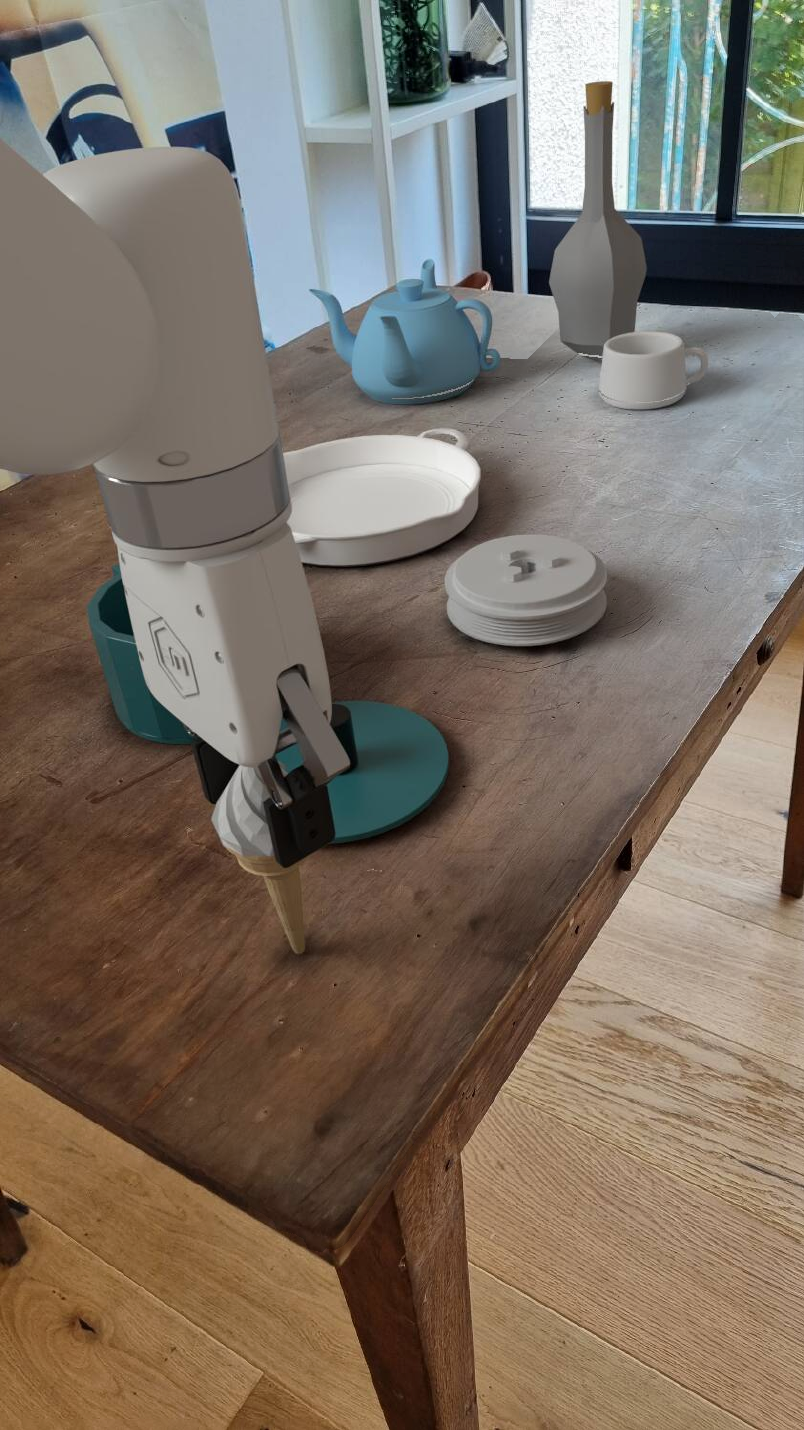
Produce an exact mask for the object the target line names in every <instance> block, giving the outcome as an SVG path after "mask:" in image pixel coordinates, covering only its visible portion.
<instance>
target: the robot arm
mask: <svg viewBox="0 0 804 1430" xmlns="http://www.w3.org/2000/svg"><path fill="white" fill-rule="evenodd" d="M241 203H242V202H241V199H240V194H239V190H238V187H237V184H236V182H235V179H234V177H233V176H232V174H231V172H230V170H229V169H228V167H227V166H226V165H225V164H224V163H223V161H222V160H221V159H220V158H218V157H216V156H215V155H213V154H212V153H211V152H209V151H206V150H201V149H197V148H194V147H186V146H153V147H139V148H131V149H130V148H129V149H123V150H116V151H110V152H109V151H108V152H103V153H98V154H95V155H90V156H86V157H82V158H79V159H75V160H72V161H67V162H65V163H62V164H59V165H57V166H55V167H52V168H50V169H49V170H48V171H46V172H44V173H41V172H40V171H39V170H38V169H36V167H34V165H32V164H31V163H30V162H29V161H27V159H25V158H24V157H23V156H21V155H20V154H19V153H18V152H17V151H16V150H14V149H13V147H11V146H10V145H9V144H7V142H5V141H4V140H3V139H2V138H1V137H0V470H4V471H7V472H11V473H16V474H21V475H36V476H37V475H38V476H39V475H40V476H41V475H42V476H43V475H44V476H52V475H59V474H63V473H64V474H65V473H71V472H75V471H78V470H80V469H83V468H86V467H88V466H91V465H92V466H93V469H94V472H95V478H96V481H97V483H98V488H99V490H100V494H101V495H100V496H101V499H102V502H103V505H104V510H105V513H106V517H107V520H108V523H109V527H110V530H111V535H112V538H113V541H114V543H115V545H116V546H117V556H118V564H119V563H120V569H121V576H122V581H123V586H124V591H125V596H126V601H127V605H128V610H129V615H130V619H131V624H132V628H133V632H134V637H135V641H136V646H137V650H138V654H139V658H140V663H141V667H142V671H143V675H144V678H145V681H146V684H147V686H148V688H149V690H150V691H151V693H152V694H153V696H154V697H155V698H156V699H157V700H158V701H159V702H160V703H161V704H162V705H163V706H164V707H165V708H166V709H168V710H169V711H170V712H171V713H172V714H173V715H175V716H176V717H177V718H178V719H179V720H180V721H182V722H183V725H184V727H185V729H186V731H187V732H188V733H189V734H190V736H192V737H195V736H197V735H199V737H198V738H196V739H194V740H192V741H191V744H190V745H191V748H192V753H193V756H194V760H195V764H196V768H197V772H198V775H199V781H200V783H201V788H202V791H203V794H204V798H205V799H206V801H208V802H209V803H210V804H211V805H216V804H217V801H218V800H219V798H220V797H221V795H222V793H223V792H224V790H225V789H226V787H227V785H228V784H229V782H230V780H231V778H232V777H233V775H234V773H235V772H236V770H237V768H238V767H239V765H241V766H244V767H249V768H254V767H256V766H258V768H259V770H260V773H261V775H262V778H263V780H264V783H265V785H266V788H267V790H268V793H269V795H270V797H269V798H268V799H266V800H265V801H264V802H263V805H264V810H265V814H266V819H267V823H268V828H269V832H270V837H271V841H272V846H273V850H274V855H275V859H276V862H278V863H279V864H280V865H281V866H282V867H283V868H288V867H290V866H292V865H294V864H295V863H297V862H299V861H300V860H302V859H304V858H305V857H307V856H309V855H310V854H311V855H313V854H314V853H316V852H317V851H319V850H321V849H322V848H325V847H326V846H327V845H328V844H331V843H330V842H332V841H333V840H334V838H335V835H336V833H335V827H334V821H333V816H332V810H331V804H330V799H329V793H328V787H327V784H329V783H331V782H332V779H334V778H335V777H336V776H337V775H339V774H341V773H342V772H344V771H345V770H347V769H348V768H349V767H350V760H349V757H348V755H347V753H346V752H345V750H344V748H343V747H342V745H341V743H340V741H339V740H338V738H337V736H336V734H335V733H334V731H333V729H332V727H331V726H330V721H331V716H332V703H333V702H332V691H331V685H330V676H329V672H328V666H327V661H326V654H325V651H324V645H323V641H322V637H321V631H320V627H319V623H318V619H317V614H316V611H315V605H314V602H313V599H312V595H311V590H310V587H309V584H308V579H307V576H306V573H305V571H304V570H305V568H304V566H303V564H302V562H301V559H300V556H299V552H298V549H297V546H296V543H295V540H294V537H293V534H292V531H291V528H290V526H289V525H288V524H287V523H286V522H287V521H288V519H289V518H290V515H291V513H292V502H291V496H290V492H289V485H288V480H287V474H286V468H285V462H284V456H283V453H284V451H283V444H282V439H281V432H280V427H279V422H278V415H277V410H276V404H275V403H276V402H275V398H274V391H273V386H272V379H271V374H270V367H269V363H268V362H269V361H268V355H267V351H266V345H265V339H264V332H263V327H262V322H261V314H260V308H259V303H258V296H257V291H256V285H255V278H254V273H253V265H252V260H251V255H250V248H249V242H248V236H247V230H246V224H245V219H244V212H243V207H242V204H241ZM283 718H284V720H285V722H286V723H287V725H288V726H287V727H285V728H283V729H281V730H280V726H281V721H282V719H283ZM295 744H298V747H299V749H300V752H301V755H302V757H303V760H304V762H303V763H302V764H301V765H300V766H299V767H297V768H295V769H293V770H292V771H291V772H289V773H288V774H287V775H286V776H285V777H284V776H283V773H282V771H281V768H280V765H279V763H278V760H277V758H276V754H278V753H280V752H282V751H283V750H285V749H287V748H289V747H291V746H293V745H295Z"/></svg>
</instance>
